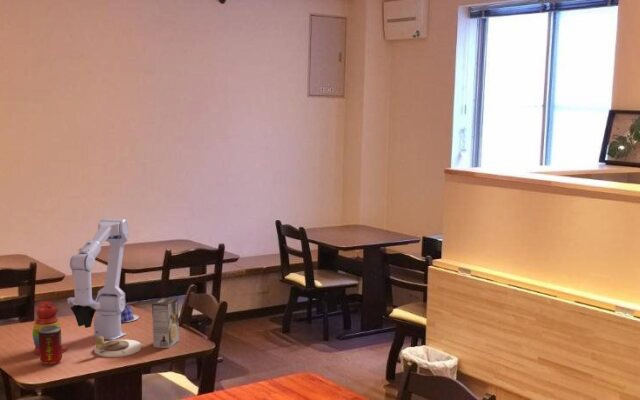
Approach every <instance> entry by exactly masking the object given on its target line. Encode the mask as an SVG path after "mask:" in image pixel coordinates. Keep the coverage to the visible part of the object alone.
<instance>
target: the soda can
mask: <svg viewBox="0 0 640 400" xmlns="http://www.w3.org/2000/svg"><path fill="white" fill-rule="evenodd" d="M61 330H62V329H61V327H60V328H59V327H57V326H46V327H43V328H41V329H40V330H39V332H38V334H39V352H40V355H39V361H40V362H41V363H42V364H43V365H42V366H44V365H46V366H45V367H54V366H53V365H55V366H57V365H60V363H61V361H62V358H63V352H62V345H63V344H62V331H61Z"/></svg>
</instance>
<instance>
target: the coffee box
mask: <svg viewBox="0 0 640 400" xmlns="http://www.w3.org/2000/svg"><path fill="white" fill-rule="evenodd" d="M178 299H179V298H177V297H174V298H173V297H161V298H160V299H158V300H156V301H154V302H153V303H152V304H151V309H152V310H151V312H152V313H151V314H152V338H153V340H152V341H153V348H160V349H161V348H163V349H170V348H172V347H173V346H174V345H176V343H178V342H179V341H180V327H179V325H180V324H179V323H180V322H179V300H178Z"/></svg>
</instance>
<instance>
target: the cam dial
mask: <svg viewBox="0 0 640 400" xmlns="http://www.w3.org/2000/svg"><path fill="white" fill-rule="evenodd" d="M123 340H124V339H115V341H112V340H108V341H109V342H107V341H105V339H104V337H102V336H99V337H96V338H95V346H96V348H97V349H99V350H103V349H104V350H110V351H114V350H122V349H125V348H127V347H128V346H129V343H128V342H127V341H123ZM104 342H106V343H104Z"/></svg>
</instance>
